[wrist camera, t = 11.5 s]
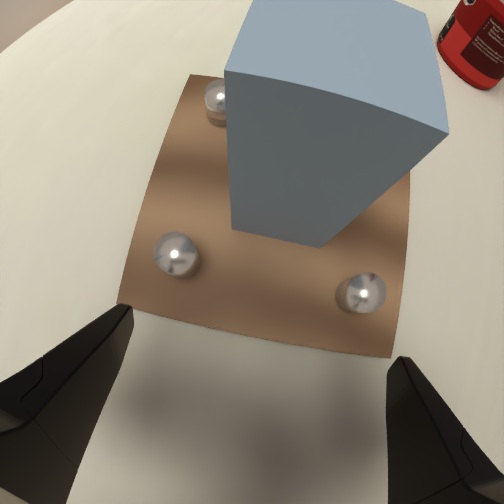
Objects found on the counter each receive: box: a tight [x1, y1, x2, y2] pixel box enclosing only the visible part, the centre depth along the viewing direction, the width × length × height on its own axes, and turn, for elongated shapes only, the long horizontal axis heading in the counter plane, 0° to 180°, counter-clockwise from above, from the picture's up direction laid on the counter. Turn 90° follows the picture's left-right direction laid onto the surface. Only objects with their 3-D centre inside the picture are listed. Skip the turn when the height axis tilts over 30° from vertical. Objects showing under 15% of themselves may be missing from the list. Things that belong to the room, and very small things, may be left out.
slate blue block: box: [224, 0, 449, 249], centre depth 12 cm, size 5×5×12 cm
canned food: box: [437, 0, 504, 90], centre depth 18 cm, size 8×8×11 cm
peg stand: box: [116, 74, 410, 358], centre depth 18 cm, size 16×16×3 cm
